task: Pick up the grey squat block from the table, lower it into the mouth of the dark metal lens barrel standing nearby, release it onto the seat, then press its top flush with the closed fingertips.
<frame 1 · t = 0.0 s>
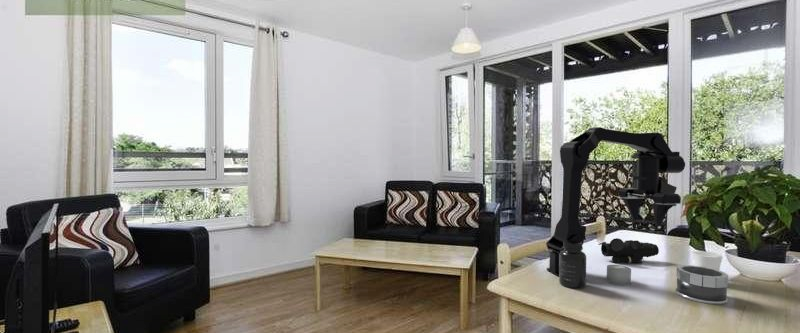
hand: (646, 222, 119), 15 cm above the table, tool pointing down, fingers open, 9 cm apart
supplement bottle: (572, 285, 105), on the table
night vision scope: (628, 261, 129), on the table
cup: (707, 281, 109), on the table
grey squat block: (618, 281, 108), on the table
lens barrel: (700, 296, 97), on the table
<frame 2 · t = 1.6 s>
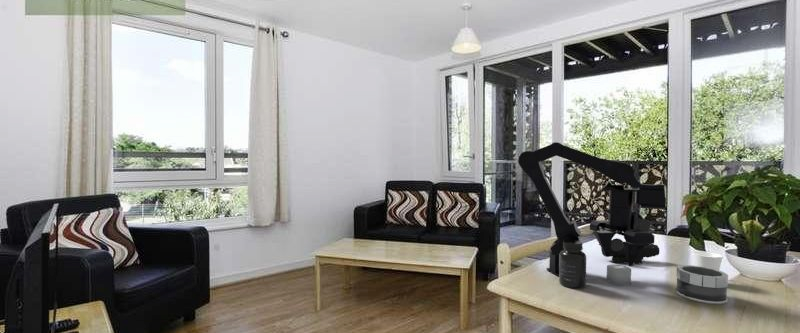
hand: (618, 261, 108), 6 cm above the table, tool pointing down, fingers open, 9 cm apart
nothing on the table moved.
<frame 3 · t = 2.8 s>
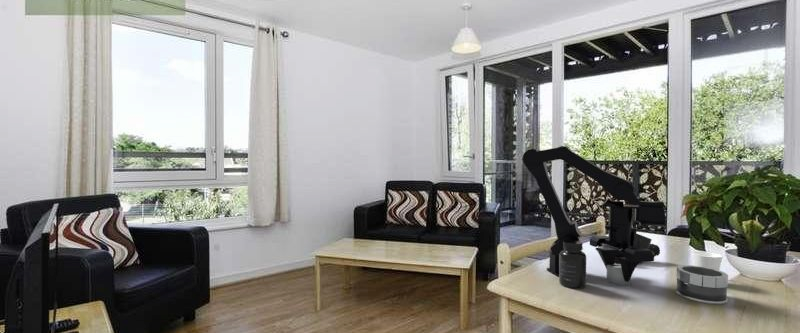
hand: (618, 277, 108), 1 cm above the table, tool pointing down, fingers closed on grey squat block, 6 cm apart
grey squat block: (618, 281, 108), on the table, touching gripper
everything else where it was.
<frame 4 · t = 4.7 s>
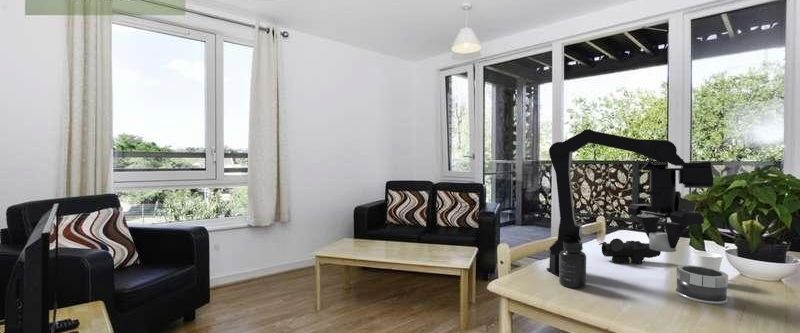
hand: (662, 245, 102), 12 cm above the table, tool pointing down, fingers closed on grey squat block, 6 cm apart
grey squat block: (662, 249, 102), point 11 cm above the table, touching gripper
everything else where it was.
when the fingers open (7 cm above the table, at t = 6.7 s): grey squat block drops 2 cm, resting on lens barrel.
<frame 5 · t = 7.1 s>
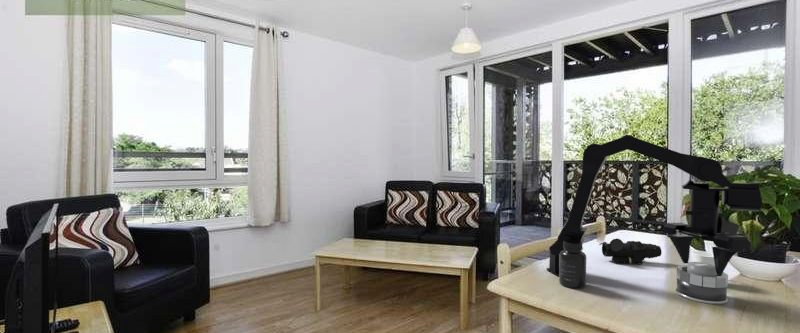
hand: (701, 268, 97), 7 cm above the table, tool pointing down, fingers open, 9 cm apart
grey squat block: (701, 280, 97), point 4 cm above the table, touching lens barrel
everything else where it was.
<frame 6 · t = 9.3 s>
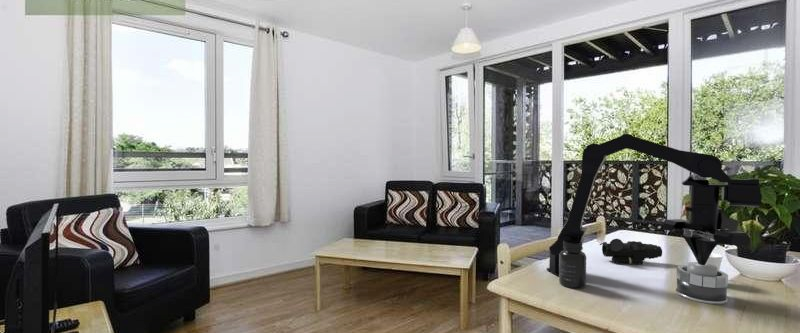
hand: (701, 264, 97), 8 cm above the table, tool pointing down, fingers closed, pressing on grey squat block
grey squat block: (701, 280, 97), point 4 cm above the table, touching gripper, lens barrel
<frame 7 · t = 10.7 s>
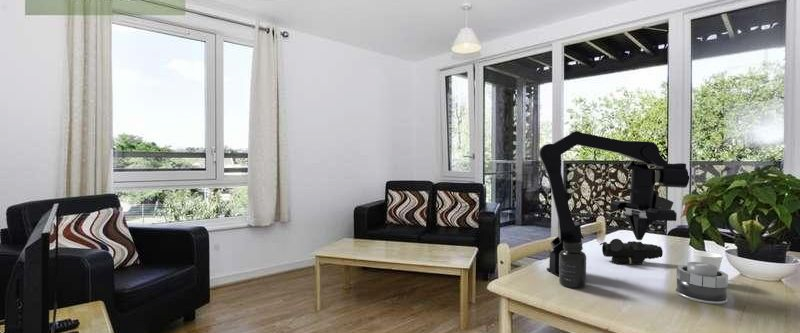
hand: (639, 239, 109), 12 cm above the table, tool pointing down, fingers closed
grey squat block: (701, 280, 97), point 4 cm above the table, touching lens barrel
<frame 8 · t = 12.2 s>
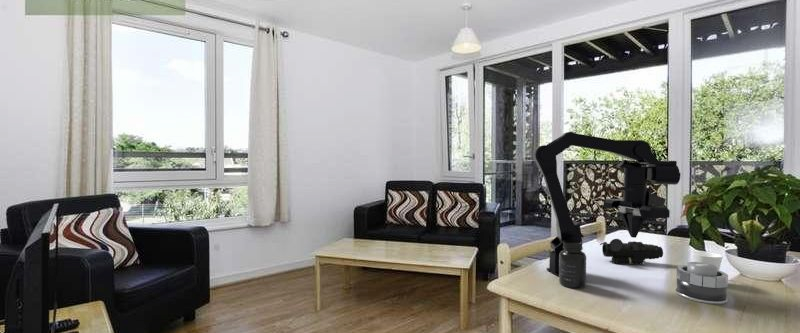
hand: (633, 237, 111), 12 cm above the table, tool pointing down, fingers closed
at the end: grey squat block 0.0 cm off-centre on the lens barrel, point 4.0 cm above the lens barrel's base; grey squat block tilted 0°; the gripper is holding nothing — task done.
